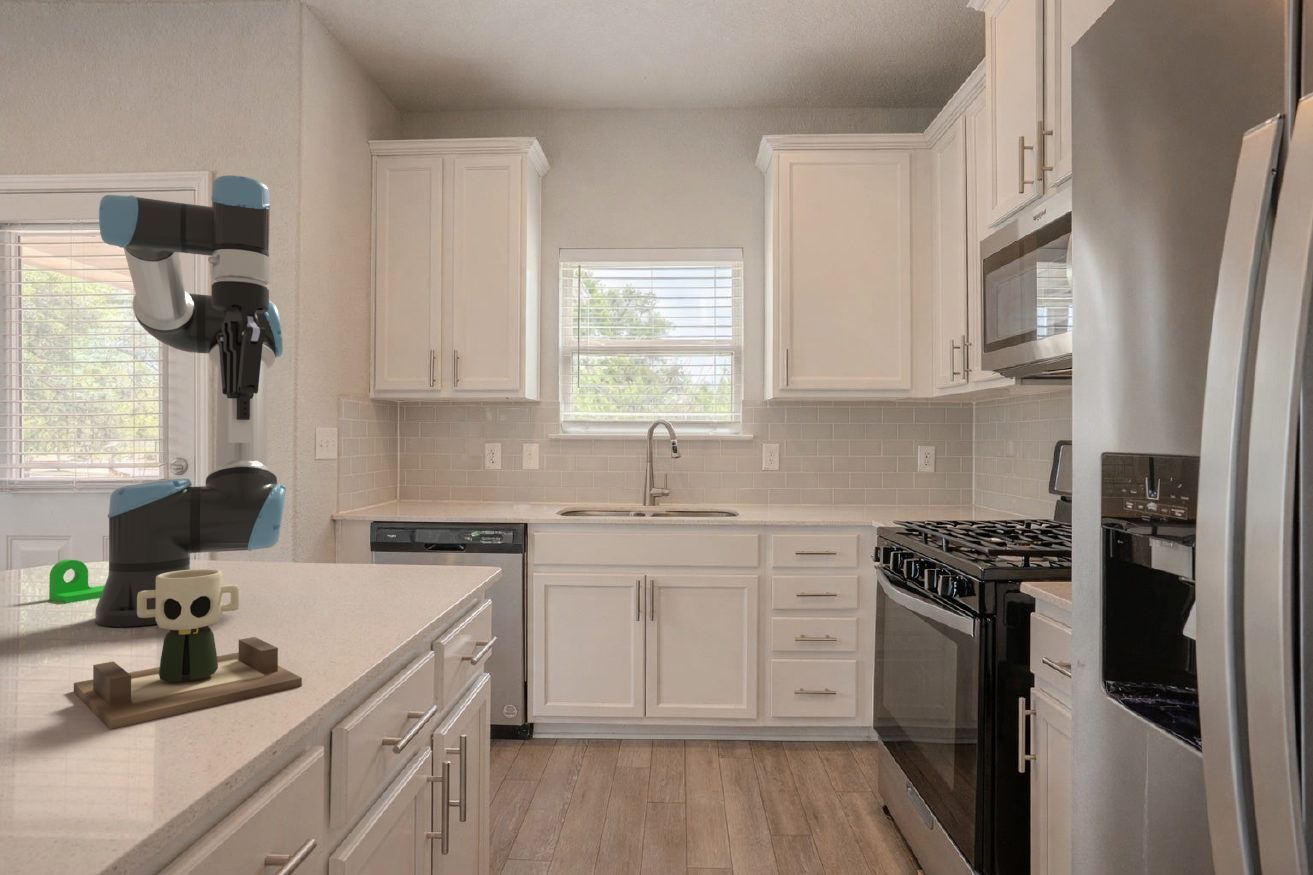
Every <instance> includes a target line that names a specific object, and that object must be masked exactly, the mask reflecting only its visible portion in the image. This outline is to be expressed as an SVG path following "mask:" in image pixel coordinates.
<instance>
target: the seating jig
mask: <svg viewBox="0 0 1313 875" xmlns="http://www.w3.org/2000/svg"><path fill="white" fill-rule="evenodd" d="M217 662H218V669H217V670H216V672H215V673H214V674H212V675H209V676H207V677H203V678H199V679H194V680H190V674H189V675H182V681H164V680H161V679H160V677H159V669H160V666H159V667H157V666H156V667H153V668H146V669H142V670H137V671H131V672H128V671H127V670H125V669H124V668H123V667H121V666H120V665H119V664H117V663H116V662H115V661H109V662H102V663H96V664H93V665H92V666H93V669H92V671H93V675H92V676H93V678H92V679H88V680H82V681H77V682H73V692H74V693H75V694H76V696H78V697H79V698H80V699H81V700H82V701H83V703H84V705H85V704H86V705H87V707H88V708H89V709H90V710H91V711H92V712H93V713H94V714H95V715H96V716H97V718H98V719H100V721H102V723H103V724H104V725H106V727H108V729H109V730H112V729H117V728H122V727H126V726H130V725H135V724H139V723H144V722H147V721H153V720H157V719H162V718H166V717H171V716H175V715H179V714H183V713H189V712H192V711H196V710H201V709H206V708H210V707H215V706H218V705H219V706H220V705H223V704H227V703H231V702H236V701H241V700H246V699H249V698H253V697H259V696H263V695H267V694H271V693H276V692H280V691H285V690H288V689H294V688H298V687H299V688H300V687H302V686H303V677H301V676H300V675H297V674H295V673H294V672H292V671H290V670H287V669H286V668H284V667H282V666H279V648H278V647H277V646H274V645H273V644H270V643H269V642H266V641H264V640H262V639H260V638H258V637H256V636H253V637H252V636H251V637H247V638H241V639H238V652H235V653H234V652H233V653H229V654H223V655H217Z"/></svg>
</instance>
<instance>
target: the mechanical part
mask: <svg viewBox="0 0 1313 875" xmlns="http://www.w3.org/2000/svg"><path fill="white" fill-rule="evenodd" d="M69 570H72V571H73V572H74V576H73V578H72V579H71V580H70V581H65V578H64V576H65V573H67V571H69ZM104 586H105V584H103V585H97V586H90V585H89V569H88V567H87V565H86V564H85V563H84V562H82V561H81V560H76V559H67V558H66V559H63V560H59V561H58V562H57V563H56V564H54V565H53V566H52V568H51V569H50V573H49V589H48V590H49V591H48V592H49V596H48V598H49V601H54V602H57V603H63V604H72V603H78V601H79V602H84V601H89V600H90V601H91V600H95V599H100V597H101V594H102V591H103V589H104ZM71 602H72V603H71Z"/></svg>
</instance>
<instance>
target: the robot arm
mask: <svg viewBox="0 0 1313 875" xmlns="http://www.w3.org/2000/svg"><path fill="white" fill-rule="evenodd" d="M211 194H212V195H211V198H210V200H211V202H212V203H211V206H207V205H200V204H191V203H182V202H175V201H167V200H159V199H152V198H146V197H145V198H144V197H138V196H135V195H132V194H131V195H118V194H117V195H116V194H107V195H103V197H102V198H101V199H100V202H99V209H98V224H99V225H98V226H99V232H100V233H99V234H100V238H101V240H102V241H103V242H104V243H105V244H107V245H109V246H115V247H116V246H117V247H119V248H121V249H123V250H124V255H125V259H126V263H127V266H128V270H129V274H130V278H131V281H132V284H133V290H134V292H135V294H134V297H133V299H132V309H133V313H134V316H135V318H136V320H137V322H138V323H139V325H140V326H141V327H142V328H143V330H145V331H146V332H147V333H148V334H149V335H151V336H152V337H153V338H154V339H155V340H158V341H159V342H161V343H163V344H164V345H166V346H168V347H171V348H173V349H176V350H179V351H182V352H187V353H194V354H195V353H196V354H208V357H209V361H211V363H212V365H214V366H215V367H217V382H216V383H217V387H216V388H217V390H216V392H217V393H216V398H217V399H216V432H215V433H216V434H215V436H216V437H215V439H216V440H215V469H214V470H213V471H211V472H210V473H208V474H207V476H206V477H205V485H204V486H202V485H201V486H192V482H191V480H190V479H189V478H177V479H167V480H158V481H151V482H143V483H138V484H130V485H125V486H121V487H118V488H116V489H114V491H112V493H111V494H110V497H109V510H108V514H107V518H108V528H109V529H108V536H109V537H108V540H109V541H108V577H107V579H106V582H105V584H104V585H105V586H104V589H103V591H102V594H101V597H100V598H98V599H99V600H98V602H97V605H96V607H95V615H94V616H95V619H94V620H95V624H97V625H98V626H99V625H100V626H104V627H115V628H117V627H119V628H120V627H121V628H122V627H124V628H125V627H141V626H142V627H143V626H150V625H151V626H152V625H158V624H157V622H156V620H155V617H150V618H140V617H138V615H137V595H138V592H141V591H146V590H156V576H157V575H160V574H163V573H168V572H174V571H181V570H191V554H198V553H216V552H218V553H219V552H232V551H233V552H234V551H235V552H238V551H248V552H252V551H254V550H262V549H270V548H273V547H275V546H276V545H277V544H278V542H279V540H280V535H281V529H282V520H283V515H284V514H283V513H284V505H285V499H286V491H287V486H286V485H285V484H281V483H278V477H277V474H275V472H273V471H272V470H270V469H269V453H268V452H269V449H268V448H269V447H268V446H269V444H268V443H269V440H268V437H269V436H268V369H270V368H271V367H272V366H273V365H274V363H275V361H276V359H277V358H279V357H281V356H282V355H283V347H284V346H283V345H284V344H283V343H284V342H283V334H282V323H281V318H280V312H279V310H278V307H277V305H276V304H275V303H273V302H272V301H271V300H270V290H269V288H268V287H266V286H268V285H269V283H270V282H271V280H270V276H271V274H270V273H271V272H270V260H271V259H270V253H269V252H270V249H269V248H270V209H271V204H270V191H269V188H268V186H267V185H266V184H264V182H262V181H259V180H257V179H254V178H252V177H247V176H241V175H228V174H227V175H222V176H218V177H216V178H215V179H214V180H213V182H212V193H211ZM180 253H181V254H182V253H183V254H192V255H202V256H209V257H208V260H207V261H208V263H210V264H211V277H212V279H213V281H215V282H213V284H211V295H208V294H198V293H188V292H187V291H186V290H185V283H184V277H183V269H182V263H181V255H180ZM146 609H147V610H150V609H156V598H147V600H146Z"/></svg>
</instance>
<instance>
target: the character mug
mask: <svg viewBox="0 0 1313 875" xmlns="http://www.w3.org/2000/svg"><path fill="white" fill-rule="evenodd" d="M226 593H227V594H228V593H230V603H223V594H226ZM147 598H156V609H150V610H147V609H146V600H147ZM239 607H240V587H239V585H237V584H223V571H222V570H219V569H211V568H210V569H209V568H202V569H201V568H195V569H190V570H181V571H174V572H168V573H163V574H160V575H157V576H156V590H146V591H141V592H138V595H137V615H138V617H140V618H150V617H155V620H156V622H157V624H156V625H157V627H159V628H160V629H163V630H169V631H168V632H167V633H166V635H165V636H164V638H163V643H162V644H163V645H162V649H161V650H162V651H161V654H160V655H161V656H160V663H159V667H160V669H159V677H160V679H161V680H164V681H182V675H189V674H190V680H194V679H199V678H203V677H207V676H209V675H212V674H214V673H215V672H216V670H217V669H218V662H217V656H218V654H217V647H216V643H215V642H216V641H215V635H214V633H213V631H212V629H211V627H210V626H211V625H214V624H217V623H218V622H219V621H220V620H221V618H222V615H223V612H224V613H225V612H232V611H233V612H234V611H237V610H238V609H239Z"/></svg>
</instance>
